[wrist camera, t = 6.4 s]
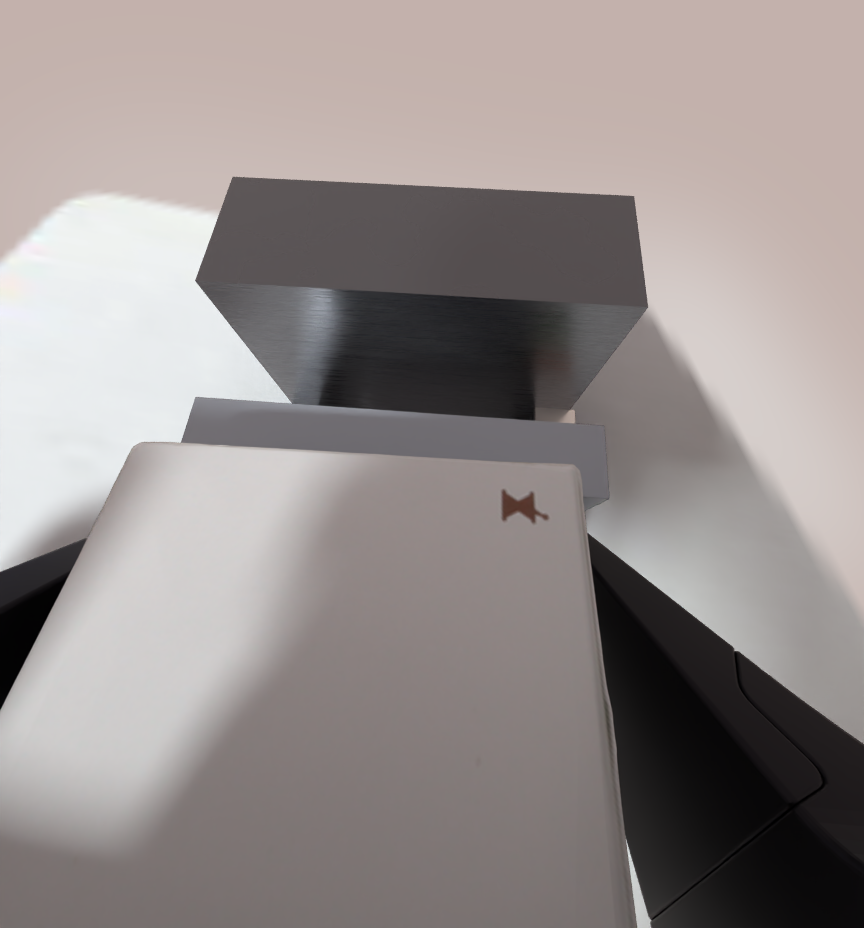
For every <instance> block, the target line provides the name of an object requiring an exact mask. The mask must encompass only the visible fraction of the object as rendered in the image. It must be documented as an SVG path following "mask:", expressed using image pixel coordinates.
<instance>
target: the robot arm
mask: <svg viewBox="0 0 864 928" xmlns="http://www.w3.org/2000/svg"><path fill="white" fill-rule="evenodd" d="M587 536H588V544H589V552H590V560H591V568H592V576H593V584H594V592H595V600H596V608H597V615H598V623H599V630H600V638H601V646H602V655H603V663H604V670H605V678H606V685H607V690H608V694H609V699H610V704H611V708H612V714H613V724H614V733H615V740H616V747H617V764H618V774H619V784H620V794H621V805H622V813H623V821H624V829H625V836H626V840H627V843H628V847H629V850H630V854H631V857H632V861H633V864H634V868H635V871H636V875H637V878H638V882H639V885H640V888H641V892H642V895H643V899H644V902H645V906H646V909H647V913H648V916H649V918H650V919H651V922H650V924H651V928H864V744H862V743H861V742H860V741H858V740H857V739H855V738H854V737H853V736H851V735H850V734H848V733H847V732H845V731H844V730H843V729H841V728H840V727H839V726H837V725H836V724H834V723H833V722H832V721H830V720H829V719H827V718H826V717H825V716H823V715H822V714H821V713H819V712H818V711H816V710H815V709H814V708H812V707H811V706H809V705H808V704H807V703H805V702H804V701H803V700H801V699H800V698H798V697H797V696H796V695H795V694H793V693H792V692H791V691H789V690H788V689H787V688H785V687H784V686H783V685H781V684H780V683H779V682H777V681H776V680H775V679H774V678H772V677H771V676H770V675H768V674H767V673H766V672H764V671H763V670H762V669H760V668H759V667H758V666H757V665H755V664H754V663H753V662H752V661H750V660H749V659H748V658H746V657H745V656H744V655H743V654H741V653H740V652H738V651H734V648H733V647H732V646H731V645H730V644H728V643H727V642H726V641H725V640H723V639H722V638H721V637H719V636H718V635H717V634H716V633H714V632H713V631H712V630H711V629H709V628H708V627H707V626H705V625H704V624H703V623H702V622H700V621H699V620H698V619H697V618H695V617H694V616H693V615H691V614H690V613H689V612H688V611H686V610H685V609H684V608H682V607H681V606H680V605H679V604H677V603H676V602H675V601H674V600H672V599H671V598H670V597H668V596H667V595H666V594H665V593H663V592H662V591H661V590H660V589H658V588H657V587H656V586H654V585H653V584H652V583H651V582H649V581H648V580H647V579H646V578H644V577H643V576H642V575H640V574H639V573H638V572H637V571H635V570H634V569H633V568H632V567H630V566H629V565H628V564H626V563H625V562H624V561H623V560H621V559H620V558H619V557H617V556H616V555H615V554H614V553H612V552H611V551H610V550H609V549H607V548H606V547H605V546H603V545H602V544H601V543H600V542H598V541H597V540H596V539H595V538H593V537H592V536H591V535H589V534H588V533H587ZM86 540H87V538H85V539H83V540H80V541H78V542H75V543H73V544H70V545H67V546H65V547H62V548H60V549H57V550H55V551H52V552H50V553H47V554H45V555H42V556H40V557H37V558H35V559H32V560H29V561H27V562H24V563H22V564H19V565H17V566H14V567H12V568H9V569H7V570H4V571H2V572H0V710H1V708H2V706H3V704H4V702H5V700H6V698H7V696H8V694H9V692H10V690H11V688H12V686H13V684H14V682H15V680H16V678H17V676H18V674H19V672H20V670H21V668H22V667H23V665H24V663H25V661H26V659H27V657H28V655H29V653H30V651H31V649H32V647H33V645H34V643H35V641H36V639H37V637H38V635H39V633H40V631H41V629H42V627H43V625H44V623H45V621H46V619H47V617H48V615H49V614H50V612H51V610H52V608H53V606H54V604H55V602H56V600H57V598H58V596H59V594H60V592H61V590H62V588H63V586H64V584H65V582H66V580H67V578H68V576H69V574H70V572H71V570H72V568H73V566H74V564H75V562H76V561H77V559H78V557H79V555H80V553H81V551H82V548H83V546H84V544H85V542H86Z"/></svg>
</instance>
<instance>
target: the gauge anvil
mask: <svg viewBox="0 0 864 928" xmlns="http://www.w3.org/2000/svg"><path fill="white" fill-rule="evenodd" d="M195 281H196V282H197V284H198V285H199V286H200V287H201V289H202V290H203V291H204V292H205V294H206V295H207V296H208V298H209V299H210V300H211V301H212V303H213V304H214V305H215V306H216V308H217V309H218V310H219V311H220V313H221V314H222V315H223V316H224V318H225V319H226V320H227V322H228V323H229V324H230V325H231V327H232V328H233V329H234V330H235V332H236V333H237V334H238V335H239V337H240V338H241V339H242V340H243V342H244V343H245V344H246V346H247V347H248V348H249V349H250V351H251V352H252V353H253V354H254V356H255V357H256V358H257V359H258V361H259V362H260V363H261V364H262V366H263V367H264V368H265V370H266V371H267V372H268V373H269V375H270V376H271V377H272V378H273V380H274V381H275V382H276V383H277V385H278V386H279V387H280V388H281V390H282V391H283V392H284V394H285V395H286V396H287V397H288V399H289V400H290V401H291V402H292V404H303V405H317V406H332V407H346V408H360V409H374V410H389V411H403V412H417V413H431V414H446V415H460V416H474V417H489V418H503V419H517V420H531V421H546V422H560V423H574V424H575V410H570V409H571V407H572V406H573V405H574V403H575V402H576V401H577V400H578V398H579V397H580V396H581V394H582V393H583V392H584V390H585V389H586V388H587V386H588V385H589V384H590V383H591V381H592V380H593V379H594V377H595V376H596V375H597V373H598V372H599V371H600V369H601V368H602V367H603V366H604V364H605V363H606V362H607V360H608V359H609V358H610V356H611V355H612V354H613V352H614V351H615V350H616V349H617V347H618V346H619V345H620V343H621V342H622V341H623V339H624V338H625V337H626V335H627V334H628V333H629V332H630V330H631V329H632V328H633V326H634V325H635V324H636V322H637V321H638V320H639V318H640V317H641V316H642V315H643V313H644V312H645V311H646V309H647V308H648V303H647V295H646V287H645V280H644V272H643V264H642V256H641V248H640V240H639V232H638V224H637V216H636V209H635V201H634V196H619V195H600V194H577V193H558V192H536V191H515V190H495V189H494V190H493V189H474V188H454V187H433V186H412V185H391V184H370V183H348V182H327V181H307V180H306V181H305V180H286V179H265V178H245V177H243V178H242V177H233V178H232V180H231V183H230V186H229V189H228V192H227V194H226V197H225V200H224V203H223V205H222V208H221V211H220V214H219V216H218V219H217V222H216V225H215V228H214V230H213V233H212V236H211V239H210V241H209V244H208V247H207V250H206V252H205V255H204V258H203V261H202V264H201V266H200V269H199V272H198V275H197V277H196V280H195Z"/></svg>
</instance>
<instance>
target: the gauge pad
mask: <svg viewBox="0 0 864 928" xmlns="http://www.w3.org/2000/svg"><path fill="white" fill-rule="evenodd" d="M181 443H197V444H209V445H228V446H243V447H261V448H279V449H297V450H314V451H330V452H346V453H365V454H383V455H396V456H412V457H430V458H447V459H465V460H481V461H500V462H527V463H554V464H573V465H575V466H576V467H577V468H578V469H579V470H580V473H581V479H582V489H583V503H584V511H586V510H588V509H590V508H592V507H594V506H596V505H598V504H600V503H602V502H604V501H606V500H608V499H609V485H608V471H607V457H606V443H605V429H604V426H603V425H588V424H574V423H560V422H546V421H531V420H517V419H503V418H489V417H474V416H460V415H446V414H431V413H417V412H403V411H389V410H374V409H360V408H346V407H332V406H317V405H303V404H289V403H274V402H260V401H246V400H232V399H217V398H203V397H195V400H194V404H193V407H192V410H191V413H190V416H189V419H188V422H187V425H186V429H185V432H184V435H183V438H182V441H181Z"/></svg>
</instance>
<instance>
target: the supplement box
mask: <svg viewBox="0 0 864 928" xmlns="http://www.w3.org/2000/svg"><path fill="white" fill-rule="evenodd" d="M0 928H637V922H636V914H635V906H634V899H633V891H632V883H631V876H630V868H629V861H628V853H627V845H626V837H625V829H624V821H623V813H622V805H621V794H620V784H619V774H618V764H617V747H616V740H615V733H614V724H613V714H612V708H611V704H610V699H609V694H608V690H607V685H606V678H605V670H604V663H603V655H602V646H601V638H600V630H599V623H598V615H597V608H596V600H595V592H594V584H593V576H592V568H591V560H590V552H589V544H588V536H587V528H586V520H585V511H584V503H583V489H582V479H581V473H580V470H579V469H578V468H577V467H576V466H575V465H573V464H554V463H527V462H500V461H481V460H465V459H447V458H430V457H412V456H396V455H383V454H365V453H346V452H330V451H314V450H297V449H279V448H261V447H243V446H228V445H209V444H197V443H175V442H141V443H139V444H137V445H135V446H134V447H133V448H132V449H131V451H130V453H129V455H128V457H127V459H126V461H125V463H124V466H123V467H122V469H121V471H120V473H119V475H118V477H117V479H116V481H115V483H114V485H113V487H112V489H111V491H110V494H109V496H108V498H107V500H106V502H105V504H104V506H103V508H102V510H101V512H100V514H99V516H98V518H97V520H96V522H95V524H94V526H93V528H92V530H91V532H90V534H89V536H88V538H87V540H86V542H85V544H84V546H83V548H82V551H81V553H80V555H79V557H78V559H77V561H76V562H75V564H74V566H73V568H72V570H71V572H70V574H69V576H68V578H67V580H66V582H65V584H64V586H63V588H62V590H61V592H60V594H59V596H58V598H57V600H56V602H55V604H54V606H53V608H52V610H51V612H50V614H49V615H48V617H47V619H46V621H45V623H44V625H43V627H42V629H41V631H40V633H39V635H38V637H37V639H36V641H35V643H34V645H33V647H32V649H31V651H30V653H29V655H28V657H27V659H26V661H25V663H24V665H23V667H22V668H21V670H20V672H19V674H18V676H17V678H16V680H15V682H14V684H13V686H12V688H11V690H10V692H9V694H8V696H7V698H6V700H5V702H4V704H3V706H2V708H1V710H0Z"/></svg>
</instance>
